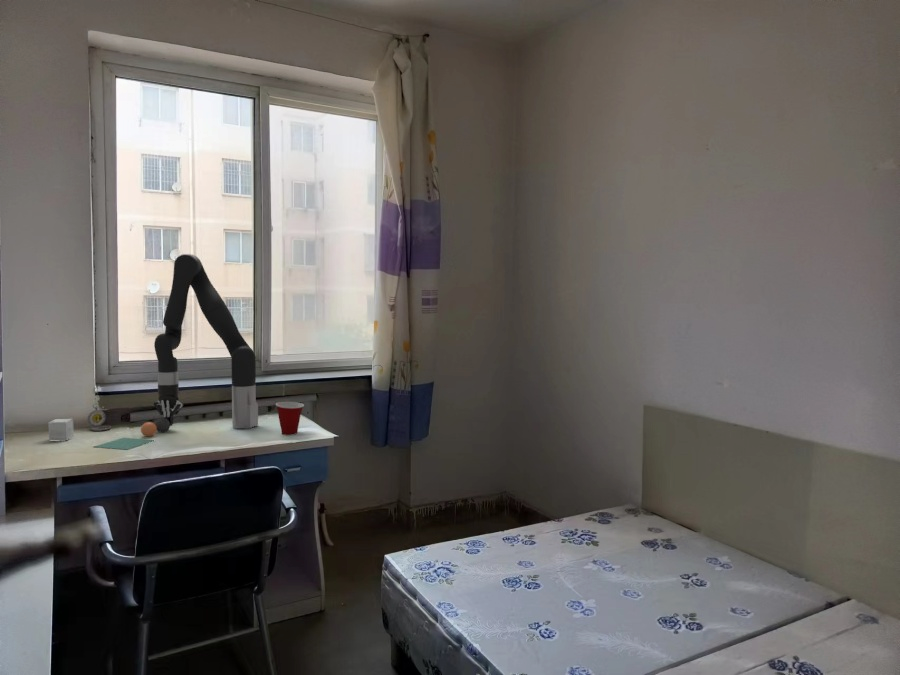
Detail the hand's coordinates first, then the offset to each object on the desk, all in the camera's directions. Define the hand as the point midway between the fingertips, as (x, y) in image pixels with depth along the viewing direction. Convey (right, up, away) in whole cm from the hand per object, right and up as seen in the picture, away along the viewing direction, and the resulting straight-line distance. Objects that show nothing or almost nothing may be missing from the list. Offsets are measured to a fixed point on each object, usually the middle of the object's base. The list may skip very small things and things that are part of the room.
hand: (168, 425), depth 241 cm
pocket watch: (-27, -2, 0) cm, 27 cm away
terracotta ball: (-2, 0, -12) cm, 12 cm away
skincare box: (-32, -3, -18) cm, 36 cm away
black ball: (-1, +1, -4) cm, 4 cm away
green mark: (-5, -3, -23) cm, 24 cm away
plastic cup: (+50, -3, -4) cm, 50 cm away
